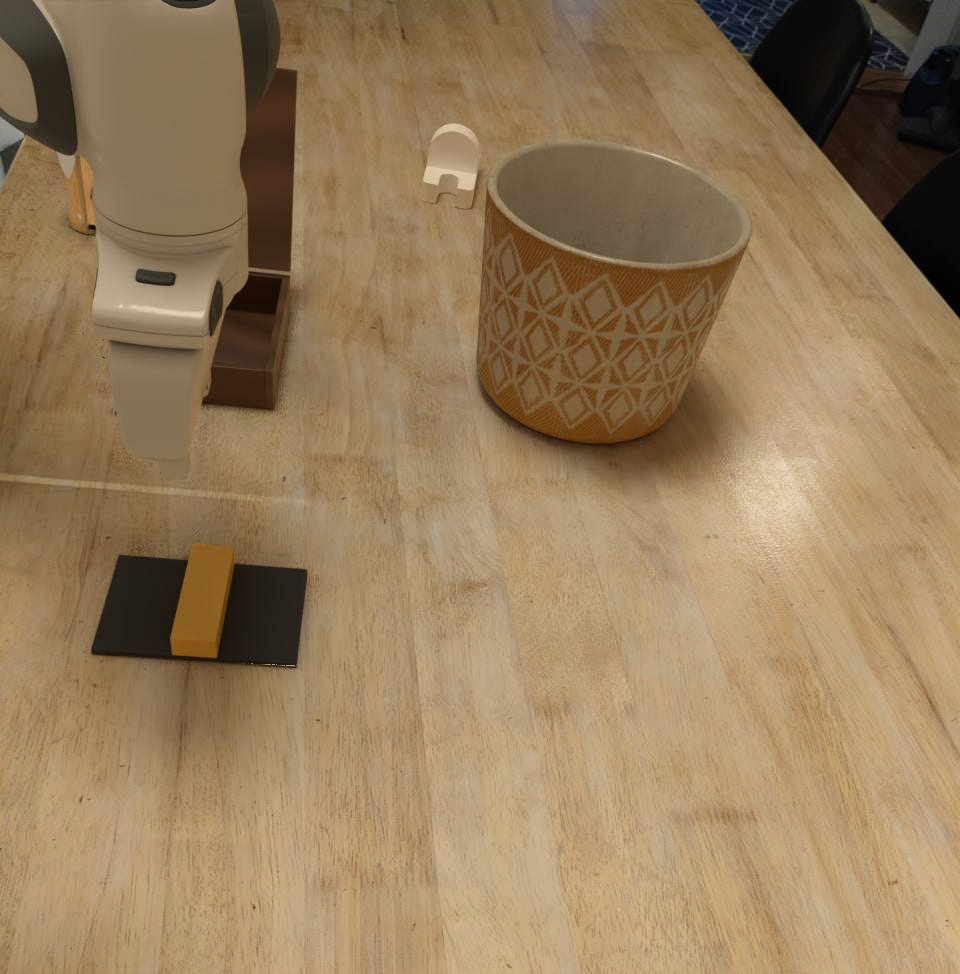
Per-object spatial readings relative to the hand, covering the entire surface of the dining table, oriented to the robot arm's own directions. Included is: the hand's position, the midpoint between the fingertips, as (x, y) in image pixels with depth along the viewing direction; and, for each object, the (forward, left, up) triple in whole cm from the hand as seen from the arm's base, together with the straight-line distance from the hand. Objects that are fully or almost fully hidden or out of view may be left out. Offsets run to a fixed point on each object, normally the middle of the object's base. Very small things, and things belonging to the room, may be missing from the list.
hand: (187, 430), depth 75 cm
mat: (0, 0, -19) cm, 19 cm away
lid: (-4, +49, -4) cm, 50 cm away
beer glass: (-22, +63, -19) cm, 69 cm away
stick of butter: (0, 0, -18) cm, 18 cm away
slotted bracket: (+22, +85, -19) cm, 90 cm away
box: (-4, +37, -19) cm, 42 cm away
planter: (+35, +38, -19) cm, 55 cm away
